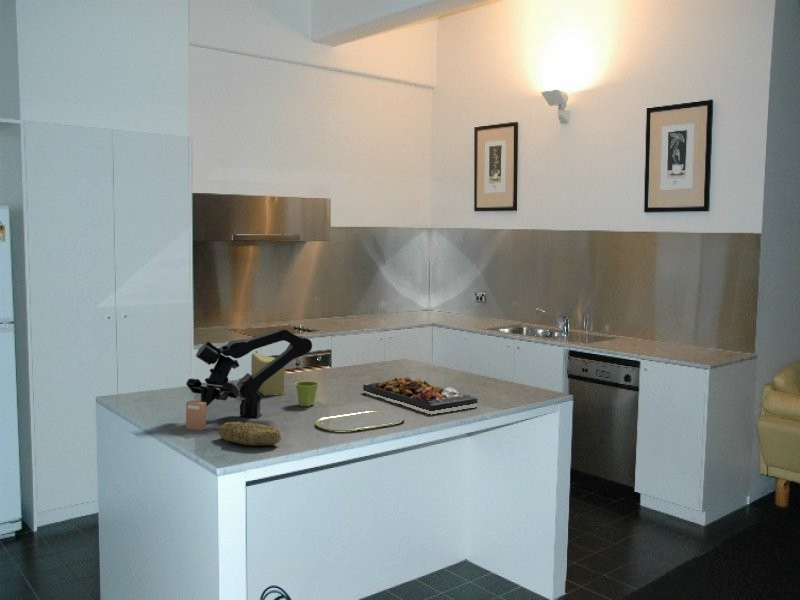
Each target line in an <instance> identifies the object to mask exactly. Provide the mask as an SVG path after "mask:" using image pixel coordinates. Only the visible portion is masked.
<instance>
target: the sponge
mask: <svg viewBox="0 0 800 600" xmlns="http://www.w3.org/2000/svg"><path fill="white" fill-rule="evenodd" d="M218 432H219V433H218V434H219V437H220V438H221V439H222V440H224V441H226V442H229V443H234V444H238V445H244V446H252V447H257V446H258V447H262V446H263V447H266V446H270V445H275V444H278V443H280V442H281V440H282V436H281V432H280V430H279V429H277V428H275V427H273V426H268V425H265V424H263V423H258V422H242V421H237V420H236V421H227V422H225V423H223V424H221V426H220V427H219V430H218Z"/></svg>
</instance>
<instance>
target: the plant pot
mask: <svg viewBox="0 0 800 600" xmlns="http://www.w3.org/2000/svg"><path fill="white" fill-rule="evenodd" d="M319 384H320V383H319V382H316V381H307V380H305V381H298V382H295V383H294V386H295V387H296V388H295V389H296V392H297V400H298V405H299V406H300V405H304V406H303V407H306V406H308V405H313V404H314V405H315V404H316V395H317V390H318V386H319ZM314 405H313V406H314ZM308 407H309V406H308Z"/></svg>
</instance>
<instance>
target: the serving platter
mask: <svg viewBox="0 0 800 600" xmlns="http://www.w3.org/2000/svg"><path fill="white" fill-rule="evenodd" d="M381 411H382V410H381ZM381 411H379V410H378V411H377V410H374V411H371V412H381ZM369 412H370V411H365V412H364V411H363V412H357V413H350V414H349V413H348V414H343V415H336V416H328V417H322V418H319V419H318V420H316V421H315V426H316V427H317V426H318V424H319V423H320V422H321V421H323V420H327V419H332V418H338V417H345V416H350V415H356V414H361V413H369ZM387 424H388V423H385V424H378V425H373V426H366V427H358V428H352V429H338V428H337V429H336V428H328V427H325V426H324V427H323V426H321V425H320V426H318V427H317V428H319V429H320V428H321V429H320V430H322V429H325V430H331V431H352V430H353V431H354V430H360V429H366V428H372V427H377V426H383V425H387ZM390 424H392V422H391V423H390ZM325 430H324V431H325Z"/></svg>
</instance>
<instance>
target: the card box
mask: <svg viewBox="0 0 800 600" xmlns="http://www.w3.org/2000/svg"><path fill="white" fill-rule="evenodd" d="M206 403H207V402H201V400H200V401H198V400H189V401H186V403H185V405H186V406H185V409H186V410H185V425H186V428H188V429H195V430H203V429H206V427H207V407H206Z"/></svg>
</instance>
